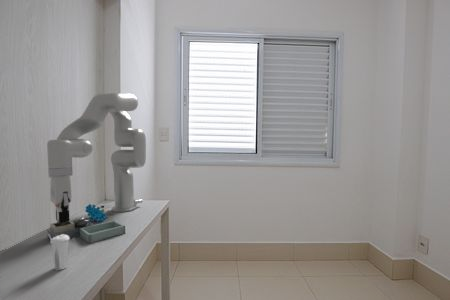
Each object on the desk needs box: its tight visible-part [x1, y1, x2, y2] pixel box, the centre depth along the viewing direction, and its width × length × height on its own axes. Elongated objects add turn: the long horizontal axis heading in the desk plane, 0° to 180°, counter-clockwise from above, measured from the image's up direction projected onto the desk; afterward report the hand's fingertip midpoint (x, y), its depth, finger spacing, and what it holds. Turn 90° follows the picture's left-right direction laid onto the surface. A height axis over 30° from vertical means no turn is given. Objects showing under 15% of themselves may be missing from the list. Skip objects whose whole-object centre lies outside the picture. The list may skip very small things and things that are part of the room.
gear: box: [85, 203, 107, 223], centre depth 112 cm, size 11×6×10 cm
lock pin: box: [54, 202, 69, 227], centre depth 93 cm, size 4×4×10 cm
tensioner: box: [46, 217, 96, 241], centre depth 95 cm, size 14×8×6 cm, turn 137°
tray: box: [79, 219, 126, 244], centre depth 94 cm, size 13×10×3 cm
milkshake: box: [48, 233, 71, 271], centre depth 70 cm, size 4×5×10 cm
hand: (62, 220), depth 93 cm, fingers closed on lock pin, 3 cm apart
